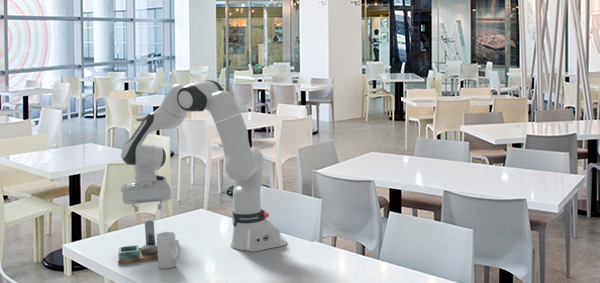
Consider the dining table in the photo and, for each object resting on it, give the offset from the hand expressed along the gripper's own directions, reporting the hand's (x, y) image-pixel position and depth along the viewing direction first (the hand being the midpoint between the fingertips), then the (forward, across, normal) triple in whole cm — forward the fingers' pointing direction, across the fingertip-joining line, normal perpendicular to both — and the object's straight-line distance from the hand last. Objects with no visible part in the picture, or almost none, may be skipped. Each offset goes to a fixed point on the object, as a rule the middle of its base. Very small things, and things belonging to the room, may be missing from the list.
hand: (148, 210), depth 239 cm
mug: (+34, +6, -16) cm, 39 cm away
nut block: (+24, -5, -6) cm, 25 cm away
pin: (+15, 0, +3) cm, 16 cm away
